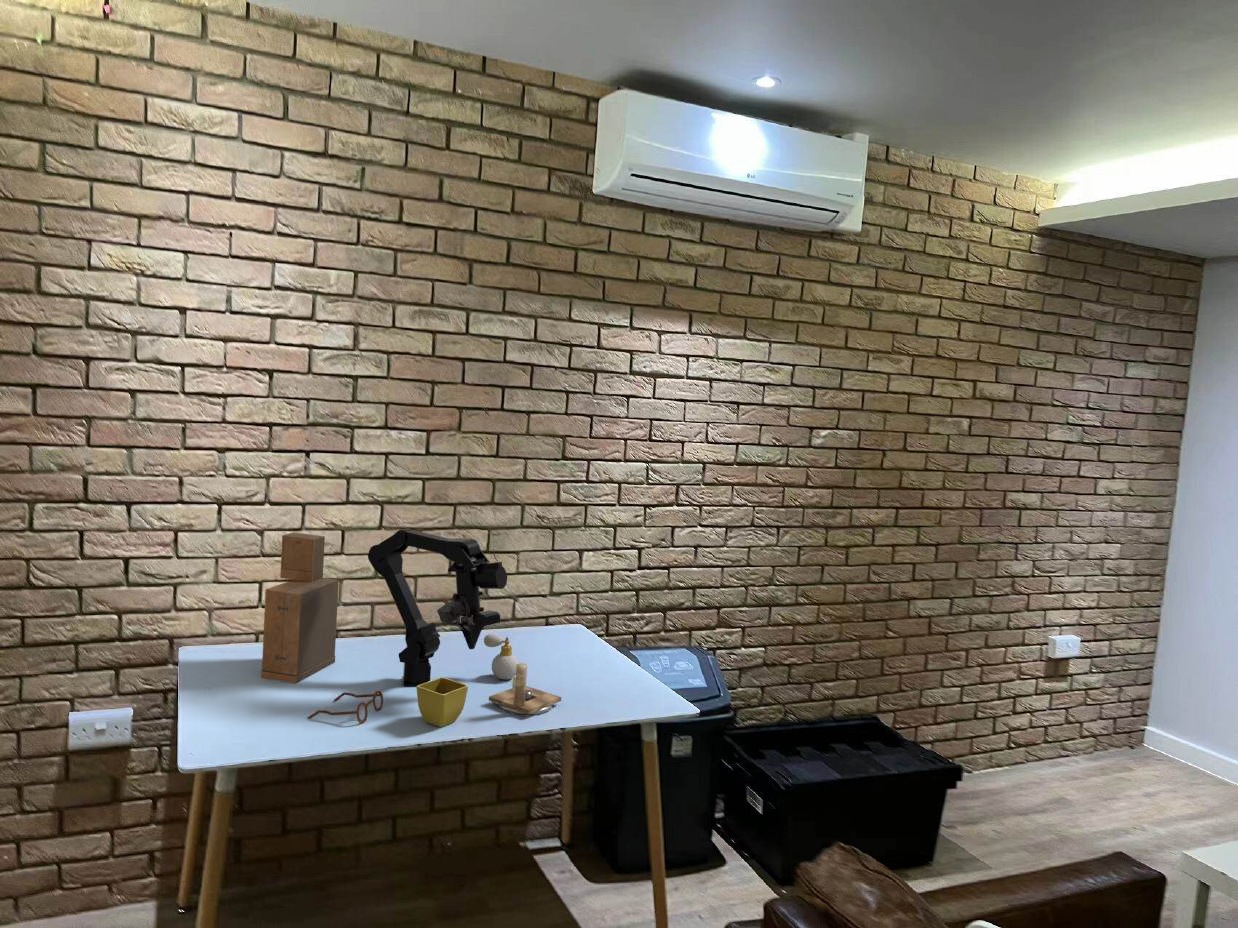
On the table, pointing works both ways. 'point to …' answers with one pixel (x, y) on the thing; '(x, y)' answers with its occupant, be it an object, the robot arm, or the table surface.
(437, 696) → the flower pot
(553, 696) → the flange plate
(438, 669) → the table surface
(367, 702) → the glasses
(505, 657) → the perfume bottle
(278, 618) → the stacked wooden blocks
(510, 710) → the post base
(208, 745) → the table surface
